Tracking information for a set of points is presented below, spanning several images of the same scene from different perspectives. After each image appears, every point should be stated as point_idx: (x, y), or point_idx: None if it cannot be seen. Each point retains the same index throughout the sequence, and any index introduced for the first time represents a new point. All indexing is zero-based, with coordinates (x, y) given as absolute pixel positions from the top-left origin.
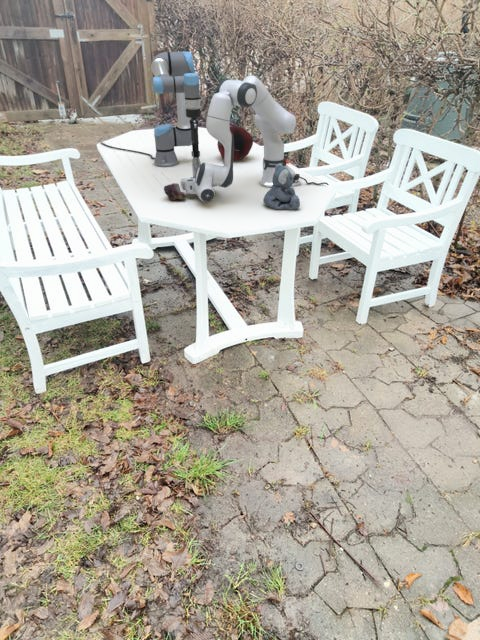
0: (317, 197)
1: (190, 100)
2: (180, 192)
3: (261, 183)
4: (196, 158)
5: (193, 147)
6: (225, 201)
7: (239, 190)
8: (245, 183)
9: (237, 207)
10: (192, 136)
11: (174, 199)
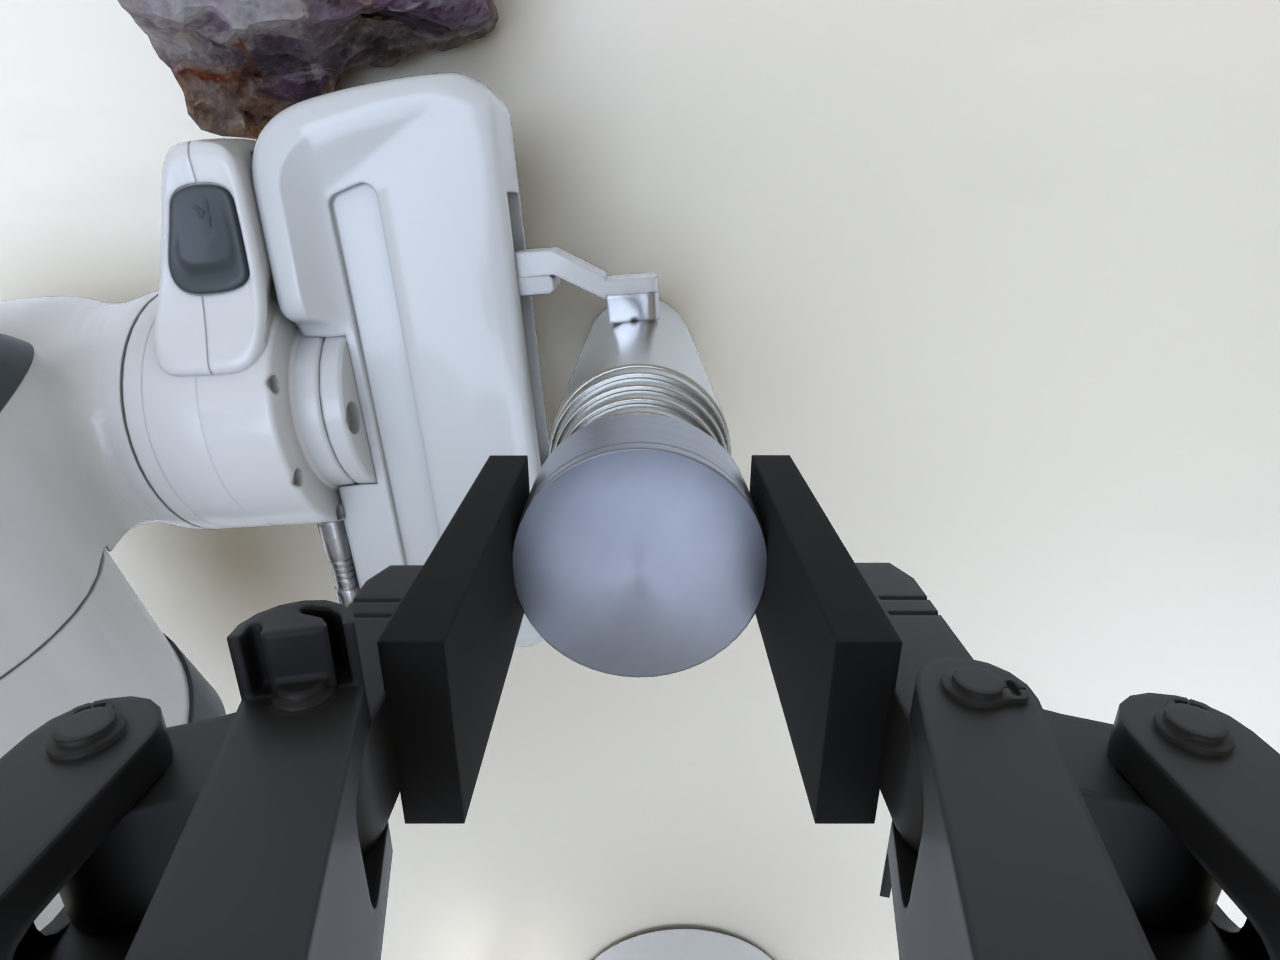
0: None
1: None
2: (158, 55)
3: (672, 938)
4: None
5: (411, 588)
6: (243, 584)
7: (556, 748)
8: (750, 825)
9: None
10: (951, 905)
11: None
